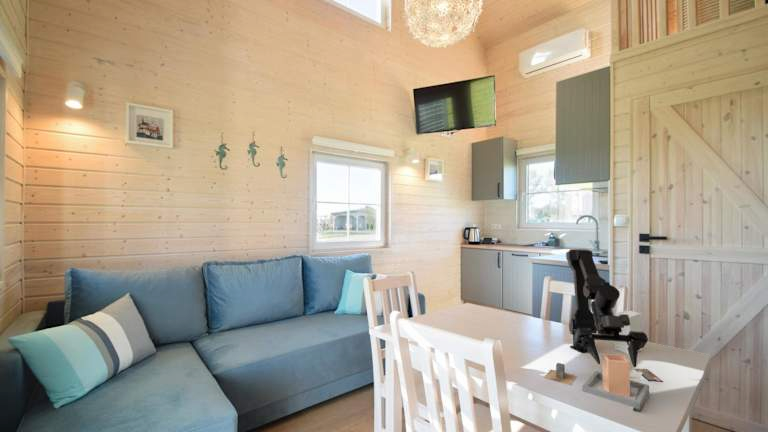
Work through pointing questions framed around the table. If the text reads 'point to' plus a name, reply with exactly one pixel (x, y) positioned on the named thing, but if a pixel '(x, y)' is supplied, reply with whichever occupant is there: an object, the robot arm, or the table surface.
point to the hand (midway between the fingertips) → (617, 365)
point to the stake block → (560, 375)
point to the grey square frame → (637, 404)
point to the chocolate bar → (648, 375)
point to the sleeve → (616, 374)
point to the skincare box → (629, 329)
